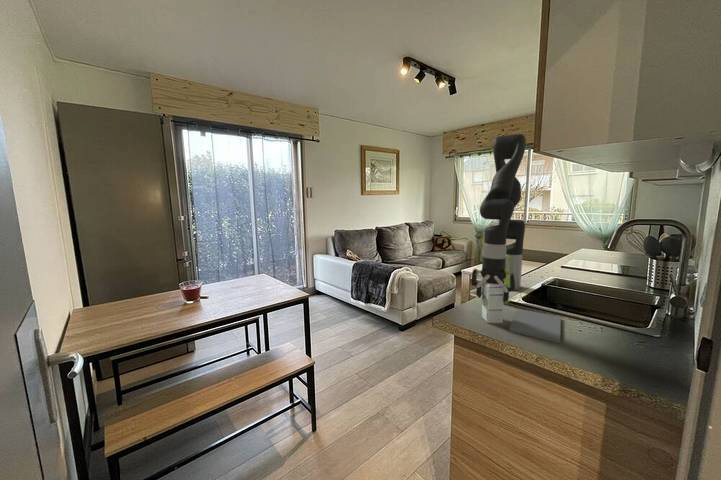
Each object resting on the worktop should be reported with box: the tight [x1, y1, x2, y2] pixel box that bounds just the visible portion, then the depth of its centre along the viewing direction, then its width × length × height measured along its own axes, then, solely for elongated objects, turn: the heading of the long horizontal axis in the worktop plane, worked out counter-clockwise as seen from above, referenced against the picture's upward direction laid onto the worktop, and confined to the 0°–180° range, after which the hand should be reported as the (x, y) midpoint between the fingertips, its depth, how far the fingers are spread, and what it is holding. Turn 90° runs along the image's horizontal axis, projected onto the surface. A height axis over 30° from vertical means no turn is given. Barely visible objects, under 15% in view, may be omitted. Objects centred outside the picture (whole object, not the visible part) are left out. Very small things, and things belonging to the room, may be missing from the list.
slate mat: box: [509, 308, 562, 344], centre depth 100 cm, size 20×14×1 cm
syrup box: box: [480, 281, 504, 324], centre depth 104 cm, size 6×6×14 cm
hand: (491, 299), depth 104 cm, fingers open, 8 cm apart
